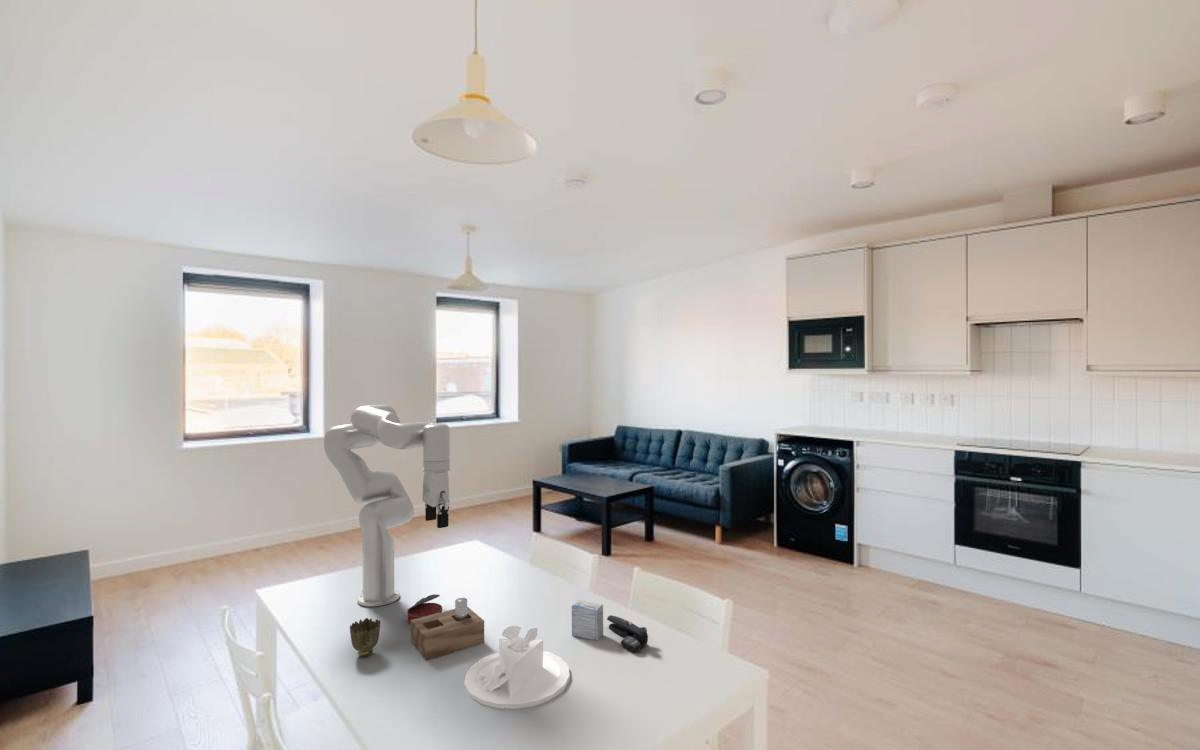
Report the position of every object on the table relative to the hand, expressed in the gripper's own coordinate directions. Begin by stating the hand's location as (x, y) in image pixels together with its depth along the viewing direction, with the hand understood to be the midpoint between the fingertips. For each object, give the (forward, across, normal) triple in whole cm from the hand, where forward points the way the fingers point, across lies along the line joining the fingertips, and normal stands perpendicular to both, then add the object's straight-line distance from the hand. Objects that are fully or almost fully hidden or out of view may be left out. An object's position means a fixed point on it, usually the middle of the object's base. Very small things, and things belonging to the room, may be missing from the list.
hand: (436, 523), depth 169 cm
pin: (+27, +16, +1) cm, 31 cm away
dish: (+29, +43, +4) cm, 52 cm away
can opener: (+29, +43, +38) cm, 64 cm away
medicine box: (+29, +35, +30) cm, 54 cm away
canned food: (+29, -2, -3) cm, 29 cm away
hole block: (+28, +16, -3) cm, 33 cm away
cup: (+28, +10, -23) cm, 38 cm away
